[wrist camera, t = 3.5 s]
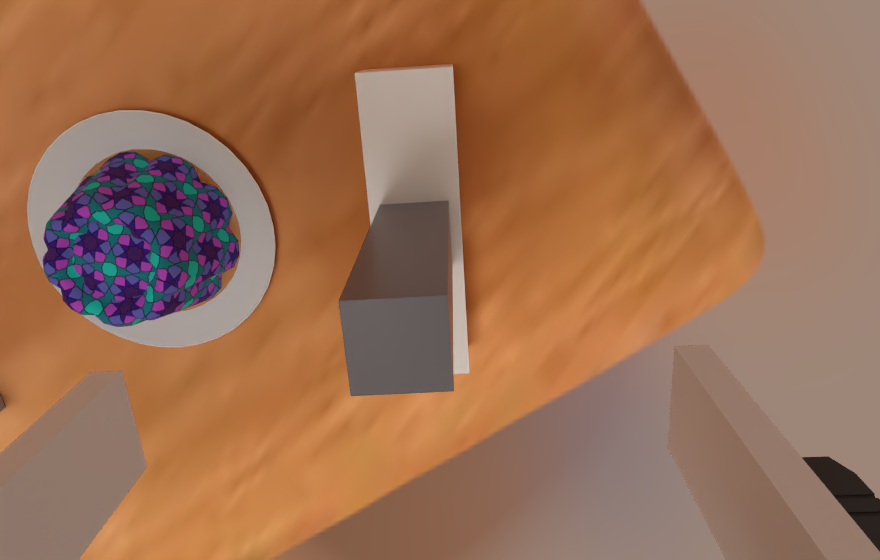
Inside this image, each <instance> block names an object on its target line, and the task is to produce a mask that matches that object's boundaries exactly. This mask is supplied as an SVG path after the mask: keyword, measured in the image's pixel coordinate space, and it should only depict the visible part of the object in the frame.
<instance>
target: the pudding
mask: <svg viewBox="0 0 880 560" xmlns="http://www.w3.org/2000/svg"><path fill="white" fill-rule="evenodd" d="M134 149H151V150H157V151H163V152H167V153H170V154H173V155H176V156H179V157H181V158H183V159H185V160H187V161H189V162H191V163H192V164H194V165H196V166H197V167H198V168H200V169H201V170H202V171H204V172H205V173H206V174H208V175H209V176H210V177H211V178H212V179H213V180H214V181H215V182H216V183H217V184H218V185H219V187H220V188H221V189H222V191H223V192H224V194H225V195H226V196H227V198H228V199H229V201H230V203H231V205H232V207H233V209H234V211H235V214H236V217H237V221H238V224H239V228H240V236H241V253H240V258H239V262H238V266H237V269H236V271H235V273H234V275H233V277H232V279H231V281H230V282H229V283H228V285H227V286H226V287H225V289H224V290H223V291H222V292H221V293H220V294H218V295H217V296H216V297H215V298H214V299H212V300H211V301H209V302H207V303H205V304H204V305H202V306H199V307H196V308H193V309H191V310H185V311H180V310H182V309H185V308H188V307H190V306H193V305H196V304H198V303H201V302H203V301H206V300H208V299H210V298H213V297H214V296H215V294H216V293H217V292H218V291H219V290H220V289H221V273H223V272H225V271H227V270H229V269H230V268H232V267H234V266H235V263H236V261H237V258H238V256H239V245H238V240H237V238H236V237H235V236H234V235H233V233H232V232H231V231H230V229H229V228H228V226H229V223H230V220H231V216H232V211H231V208H230V205H229V202H228V200H227V198H226V197H225V196H224V195H223V194H222V193H221V191H220V190H219V189H218V188H217V187H214V186H211V185H207V184H204V183H201V182H200V180H199V178H198V176H197V173H196V171H195V169H194V167H193V166H192V165H190V164H189V163H187V162H186V161H184V160H183V159H181V158H179V157H174V156H170V155H162V156H160V157H158V158H156V159H154V160H151V161H150V160H148V159H147V158H145V157H143V156H141V155H140V154H138V153H136V152H125V153H119V152H123V151H128V150H134ZM116 153H119V154H117V155H115V156H114V157H112V158H110V159H108V160H107V161H106V163H105V164H104V165H103V166H102V167H101V168H100V169H99V170H98V171H97V172H96V173H95V175H94V176H89V177H87V178H86V179H85V180H84V181H83V182H82V183H81V184H80V182H81V181H82V179H83V178H84V176H85V175H86V174H87V173H88V172H89V170H90V169H91V168H92V167H93V166H94V165H96V164H97V163H99V162H100V161H102V160H103V159H105V158H106V157H109V156H111V155H114V154H116ZM79 184H80V186H79V187H78V185H79ZM77 187H78V188H77ZM27 216H28V228H29V232H30V236H31V240H32V245H33V248H34V250H35V253H36V255H37V258H38V260H39V262H40V265H41V267H42V269H43V270H44V272H45V274H46V276H47V278H48V280H49V282H51V283H52V285H53V286H54V287H55V288H56V290H57V291H58V292H59V293H60V294H61V295H62V297H63V301H64V302H65V303H66V304H67V305H68V306H69V307H70V308H71V309H72V310H74V311H76V312H78V313H79V314H81V315H82V316H83V317H85V318H86V319H88V320H89V321H91V322H92V323H94V324H95V325H97V326H98V327H100V328H101V329H103V330H106V331H108V332H110V333H112V334H114V335H116V336H118V337H120V338H123V339H126V340H129V341H133V342H136V343H139V344H144V345H150V346H156V347H186V346H192V345H198V344H202V343H205V342H208V341H211V340H214V339H217V338H219V337H221V336H223V335H224V334H226V333H228V332H230V331H231V330H233V329H235V328H236V327H237V326H238V325H240V324H241V323H242V322H243V321H244V320H245V319H247V318H248V317H249V316H250V314H251V313H252V312H253V311H254V309H255V308H256V307H257V306H258V304H259V303H260V302H261V300H262V298H263V296H264V294H265V292H266V290H267V288H268V286H269V283H270V279H271V276H272V272H273V268H274V261H275V249H276V245H275V235H274V226H273V222H272V219H271V215H270V212H269V208H268V205H267V203H266V201H265V199H264V196H263V194H262V192H261V190H260V188H259V186H258V184H257V183H256V181H255V180H254V178H253V177H252V175H251V174H250V173H249V171H248V170H247V168H246V167H245V165H244V164H243V163H242V162H241V161H240V160H239V159H238V158H237V157H236V156H235V155H234V154H233V153H232V152H231V151H230V150H229V149H228V148H227V147H226V146H225V145H223V144H222V143H221V142H219V141H218V140H217V139H215V138H214V137H213V136H212V135H210V134H209V133H207V132H205V131H203V130H202V129H200V128H198V127H196V126H194V125H192V124H191V123H189V122H186V121H184V120H181V119H178V118H175V117H172V116H169V115H166V114H162V113H156V112H150V111H145V110H117V111H112V112H107V113H102V114H97V115H95V116H92V117H90V118H87V119H85V120H83V121H80V122H78V123H76V124H75V125H73V126H72V127H70V128H69V129H67V130H66V131H65V132H63V133H62V134H60V135H59V136H58V137H57V138H56V140H55V141H54V142H53V143H52V144H51V145H50V146H49V147H48V148H47V149H46V151H45V152H44V154H43V156H42V157H41V159H40V161H39V162H38V164H37V166H36V168H35V171H34V174H33V177H32V180H31V183H30V186H29V193H28V201H27ZM177 311H179V312H177Z"/></svg>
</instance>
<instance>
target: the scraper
mask: <svg viewBox="0 0 880 560" xmlns="http://www.w3.org/2000/svg"><path fill="white" fill-rule="evenodd" d="M355 82H356V92H357V101H358V111H359V121H360V130H361V140H362V149H363V159H364V168H365V178H366V187H367V197H368V206H369V216H370V225H371V226H370V229H369V231H368V233H367V236H366V238H365V240H364V243H363V245H362V247H361V250H360V252H359V254H358V257H357V259H356V262H355V264H354V266H353V269H352V271H351V273H350V276H349V278H348V280H347V283H346V285H345V287H344V290H343V292H342V294H341V297H340V299H339V308H340V316H341V324H342V331H343V339H344V347H345V355H346V363H347V370H348V378H349V386H350V394H351V396H364V395H385V394H406V393H427V392H448V391H454V378H453V374H465V373H469V356H468V337H467V319H466V300H465V281H464V263H463V244H462V225H461V207H460V188H459V170H458V151H457V132H456V114H455V95H454V76H453V64H443V65H428V66H413V67H398V68H383V69H368V70H362V71H359V72H356V73H355Z"/></svg>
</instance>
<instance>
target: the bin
mask: <svg viewBox="0 0 880 560" xmlns="http://www.w3.org/2000/svg"><path fill="white" fill-rule="evenodd" d="M4 408H5V405H4V402H3V399H2V396H1V395H0V411H2V410H3V409H4Z"/></svg>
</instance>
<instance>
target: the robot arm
mask: <svg viewBox="0 0 880 560" xmlns="http://www.w3.org/2000/svg"><path fill="white" fill-rule="evenodd" d="M668 449H669V451H670V453H671V454H672V457H673V459H674V460H675V462H676V464H677V466H678V468H679V470H680V472H681V474H682V476H683V478H684V480H685V482H686V483H687V486H688V488H689V489H690V491H691V493H692V495H693V497H694V499H695V501H696V503H697V505H698V507H699V509H700V511H701V513H702V514H703V517H704V518H705V520H706V522H707V524H708V526H709V528H710V530H711V532H712V534H713V536H714V538H715V540H716V542H717V544H718V545H719V547H720V549H721V551H722V553H723V555H724V557H725V559H726V560H880V499H879V498H875V496H874V493H873V492H872V491H871V490H870V489H869V488H868V487H867V485H866V484H865V483H864V482H863V481H862V480H861V479H860V478H859V477H858V476H857V475H856V474H855V473H854V472H852V471H851V470H849V469H847V468H846V467H844V466H842V465H841V464H839V463H838V462H836V461H834V460H832V459H831V458H830V457H804V458H802V457H801V456H800V455H799V454H798V452H797V451H796V450H795V449H794V448H793V446H792V445H791V444H790V443H789V442H788V440H787V439H786V438H785V437H784V436H783V434H782V433H781V432H780V431H779V430H778V428H777V427H776V426H775V425H774V423H773V422H772V421H771V420H770V419H769V417H768V416H767V415H766V414H765V413H764V411H763V410H762V409H761V408H760V407H759V405H758V404H757V403H756V402H755V401H754V399H753V398H752V397H751V396H750V395H749V393H748V392H747V391H746V390H745V388H744V387H743V386H742V385H741V384H740V382H739V381H738V380H737V379H736V378H735V376H734V375H733V374H732V373H731V372H730V370H729V369H728V368H727V367H726V366H725V365H724V363H723V362H722V361H721V360H720V358H719V357H718V356H717V355H716V353H715V352H714V351H713V350H712V349H711V348H710V346H709V345H689V346H675V347H674V361H673V375H672V391H671V405H670V420H669V433H668ZM146 467H147V465H146V461H145V457H144V453H143V450H142V446H141V442H140V438H139V434H138V431H137V427H136V423H135V419H134V415H133V411H132V408H131V404H130V400H129V396H128V392H127V389H126V385H125V381H124V377H123V373H122V371H107V372H91V373H89V374H88V375H87V376H86V377H85V378H84V379H83V380H82V381H81V382H79V383H78V384H77V385H76V386H75V387H74V388H73V389H72V390H71V391H69V392H68V393H67V394H66V395H65V396H64V397H63V398H62V399H60V400H59V401H58V402H57V403H56V404H55V405H54V406H53V407H52V408H50V409H49V410H48V411H47V412H46V413H45V414H44V415H43V416H42V417H40V418H39V419H38V420H37V421H36V422H35V423H34V424H33V425H31V426H30V427H29V428H28V429H27V430H26V431H25V432H24V433H23V434H21V435H20V436H19V437H18V438H17V439H16V440H15V441H14V442H13V443H11V444H10V445H9V446H8V447H7V448H6V449H5V450H4V451H3V452H1V453H0V560H79V558H80V557H81V556H82V554H83V553H84V552H85V550H86V549H87V548H88V546H89V545H90V544H91V542H92V541H93V539H94V538H95V537H96V535H97V534H98V533H99V531H100V530H101V529H102V527H103V526H104V524H105V523H106V522H107V520H108V519H109V518H110V516H111V515H112V514H113V512H114V511H115V509H116V508H117V507H118V505H119V504H120V503H121V501H122V500H123V499H124V497H125V496H126V494H127V493H128V492H129V490H130V489H131V488H132V486H133V485H134V484H135V482H136V481H137V480H138V478H139V477H140V475H141V474H142V473H143V471H144V470H145V469H146Z"/></svg>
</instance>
